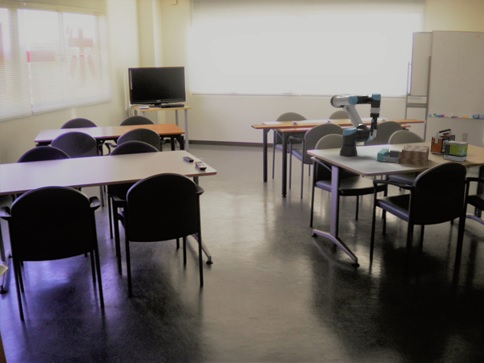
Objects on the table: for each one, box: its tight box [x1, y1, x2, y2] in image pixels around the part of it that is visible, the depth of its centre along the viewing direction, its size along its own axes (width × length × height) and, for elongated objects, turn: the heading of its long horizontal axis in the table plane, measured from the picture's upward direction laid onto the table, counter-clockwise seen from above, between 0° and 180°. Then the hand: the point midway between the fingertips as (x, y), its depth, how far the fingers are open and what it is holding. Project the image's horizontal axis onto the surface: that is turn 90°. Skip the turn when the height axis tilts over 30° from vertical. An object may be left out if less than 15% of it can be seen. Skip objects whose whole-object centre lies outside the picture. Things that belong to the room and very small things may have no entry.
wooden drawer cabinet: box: [397, 144, 431, 167], centre depth 403 cm, size 20×28×11 cm
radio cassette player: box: [429, 128, 456, 155], centre depth 442 cm, size 29×10×20 cm, turn 136°
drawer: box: [376, 147, 398, 163], centre depth 410 cm, size 23×24×6 cm
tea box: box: [443, 140, 469, 162], centre depth 411 cm, size 15×10×15 cm, turn 42°
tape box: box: [389, 149, 400, 158], centre depth 410 cm, size 7×5×6 cm
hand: (372, 138), depth 415 cm, fingers open, 12 cm apart
